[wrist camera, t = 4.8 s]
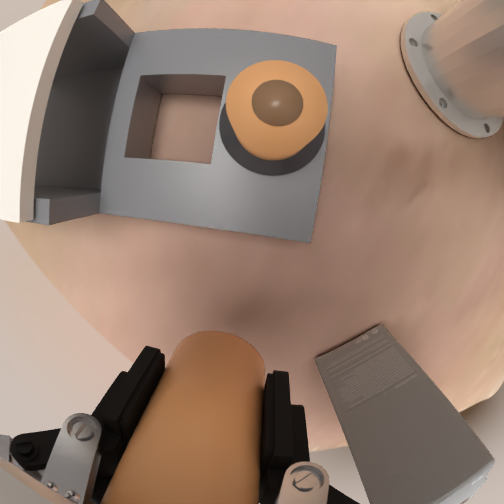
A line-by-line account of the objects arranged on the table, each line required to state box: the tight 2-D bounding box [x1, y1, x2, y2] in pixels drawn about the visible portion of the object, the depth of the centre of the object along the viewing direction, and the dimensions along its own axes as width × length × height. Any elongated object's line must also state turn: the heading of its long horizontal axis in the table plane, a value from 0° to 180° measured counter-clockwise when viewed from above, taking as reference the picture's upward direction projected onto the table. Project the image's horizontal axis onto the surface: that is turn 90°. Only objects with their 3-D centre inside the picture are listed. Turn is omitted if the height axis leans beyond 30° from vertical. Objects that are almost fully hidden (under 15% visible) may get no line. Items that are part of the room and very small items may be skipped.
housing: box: [26, 0, 337, 243], centre depth 13 cm, size 24×12×9 cm, turn 82°
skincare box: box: [315, 324, 495, 504], centre depth 14 cm, size 8×7×16 cm
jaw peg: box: [100, 331, 265, 504], centre depth 7 cm, size 4×4×8 cm
